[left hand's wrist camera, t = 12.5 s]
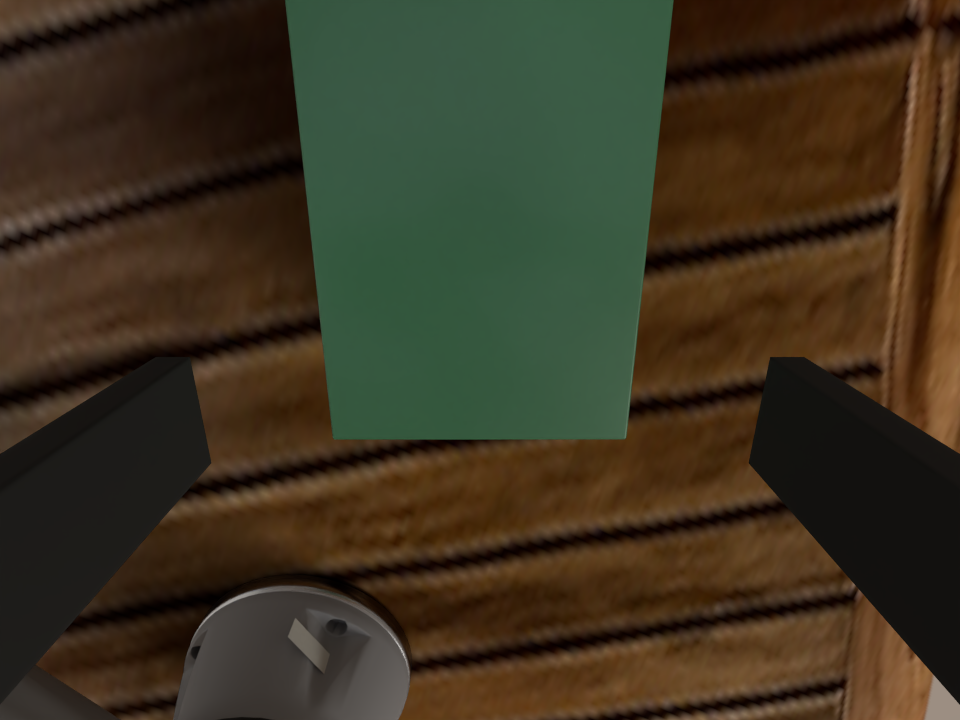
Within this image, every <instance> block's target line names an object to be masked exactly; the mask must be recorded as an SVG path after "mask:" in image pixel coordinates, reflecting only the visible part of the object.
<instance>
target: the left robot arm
mask: <svg viewBox="0 0 960 720" xmlns="http://www.w3.org/2000/svg"><path fill="white" fill-rule="evenodd" d="M210 464H211V459H210V454H209V449H208V444H207V440H206V435H205V430H204V425H203V420H202V415H201V410H200V405H199V400H198V395H197V390H196V386H195V381H194V376H193V371H192V366H191V361H190V357H155V358H154V359H152V360H151V361H149V362H147V363H146V364H144V365H143V366H141V367H139V368H138V369H136V370H134V371H133V372H131V373H130V374H128V375H126V376H125V377H123V378H122V379H120V380H118V381H117V382H115V383H114V384H112V385H110V386H109V387H107V388H106V389H104V390H102V391H101V392H99V393H98V394H96V395H94V396H93V397H91V398H90V399H88V400H86V401H85V402H83V403H82V404H80V405H78V406H77V407H75V408H73V409H72V410H70V411H69V412H67V413H65V414H64V415H62V416H61V417H59V418H57V419H56V420H54V421H53V422H51V423H49V424H48V425H46V426H45V427H43V428H41V429H40V430H38V431H37V432H35V433H33V434H32V435H30V436H29V437H27V438H25V439H24V440H22V441H21V442H19V443H17V444H16V445H14V446H12V447H11V448H9V449H8V450H6V451H4V452H3V453H1V454H0V720H120V719H119V718H117V717H115V716H114V715H112V714H111V713H109V712H108V711H106V710H105V709H103V708H101V707H100V706H98V705H97V704H95V703H94V702H92V701H91V700H89V699H88V698H86V697H84V696H83V695H81V694H80V693H78V692H77V691H75V690H74V689H72V688H70V687H69V686H67V685H66V684H64V683H63V682H61V681H60V680H58V679H57V678H55V677H53V676H52V675H50V674H49V673H47V672H46V671H44V670H43V669H41V668H39V667H38V666H36V665H35V664H36V663H37V662H38V661H39V660H40V658H41V657H42V656H43V655H44V654H45V653H46V652H47V650H48V649H49V648H50V647H51V646H52V645H53V644H54V642H55V641H56V640H57V639H58V638H59V637H60V636H61V634H62V633H63V632H64V631H65V630H66V629H67V628H68V626H69V625H70V624H71V623H72V622H73V621H74V620H75V618H76V617H77V616H78V615H79V614H80V613H81V612H82V610H83V609H84V608H85V607H86V606H87V605H88V604H89V602H90V601H91V600H92V599H93V598H94V597H95V595H96V594H97V593H98V592H99V591H100V590H101V589H102V587H103V586H104V585H105V584H106V583H107V582H108V581H109V579H110V578H111V577H112V576H113V575H114V574H115V573H116V571H117V570H118V569H119V568H120V567H121V566H122V565H123V563H124V562H125V561H126V560H127V559H128V558H129V557H130V555H131V554H132V553H133V552H134V551H135V550H136V549H137V547H138V546H139V545H140V544H141V543H142V542H143V541H144V539H145V538H146V537H147V536H148V535H149V534H150V533H151V531H152V530H153V529H154V528H155V527H156V526H157V525H158V523H159V522H160V521H161V520H162V519H163V518H164V516H165V515H166V514H167V513H168V512H169V511H170V510H171V508H172V507H173V506H174V505H175V504H176V503H177V502H178V500H179V499H180V498H181V497H182V496H183V495H184V494H185V492H186V491H187V490H188V489H189V488H190V487H191V486H192V484H193V483H194V482H195V481H196V480H197V479H198V478H199V476H200V475H201V474H202V473H203V472H204V471H205V470H206V468H207V467H208V466H209V465H210ZM749 464H750V465H751V466H752V467H753V468H754V470H755V471H756V472H757V473H758V474H759V475H760V476H761V478H762V479H763V480H764V481H765V482H766V483H767V484H768V486H769V487H770V488H771V489H772V490H773V491H774V492H775V494H776V495H777V496H778V497H779V498H780V499H781V500H782V502H783V503H784V504H785V505H786V506H787V507H788V508H789V510H790V511H791V512H792V513H793V514H794V515H795V516H796V518H797V519H798V520H799V521H800V522H801V523H802V525H803V526H804V527H805V528H806V529H807V530H808V531H809V533H810V534H811V535H812V536H813V537H814V538H815V539H816V541H817V542H818V543H819V544H820V545H821V546H822V547H823V549H824V550H825V551H826V552H827V553H828V554H829V555H830V557H831V558H832V559H833V560H834V561H835V562H836V563H837V565H838V566H839V567H840V568H841V569H842V570H843V571H844V573H845V574H846V575H847V576H848V577H849V578H850V579H851V581H852V582H853V583H854V584H855V585H856V586H857V587H858V589H859V590H860V591H861V592H862V593H863V594H864V596H865V597H866V598H867V599H868V600H869V601H870V602H871V604H872V605H873V606H874V607H875V608H876V609H877V610H878V612H879V613H880V614H881V615H882V616H883V617H884V618H885V620H886V621H887V622H888V623H889V624H890V625H891V626H892V628H893V629H894V630H895V631H896V632H897V633H898V634H899V636H900V637H901V638H902V639H903V640H904V641H905V642H906V644H907V645H908V646H909V647H910V648H911V649H912V650H913V652H914V653H915V654H916V655H917V656H918V657H919V658H920V660H921V661H922V662H923V663H924V664H925V665H926V666H927V668H928V669H929V670H930V671H931V672H932V673H933V675H934V676H935V677H936V678H937V679H938V680H939V681H940V682H941V684H942V685H943V686H944V687H945V688H946V689H947V691H948V692H949V693H950V694H951V695H952V696H953V697H954V698H955V700H956V701H957V702H958V703H959V704H960V454H959V453H957V452H956V451H954V450H952V449H951V448H949V447H948V446H946V445H944V444H943V443H941V442H939V441H938V440H936V439H935V438H933V437H931V436H930V435H928V434H927V433H925V432H923V431H922V430H920V429H919V428H917V427H915V426H914V425H912V424H911V423H909V422H907V421H906V420H904V419H903V418H901V417H899V416H898V415H896V414H895V413H893V412H891V411H890V410H888V409H887V408H885V407H883V406H882V405H880V404H878V403H877V402H875V401H874V400H872V399H870V398H869V397H867V396H866V395H864V394H862V393H861V392H859V391H858V390H856V389H854V388H853V387H851V386H850V385H848V384H846V383H845V382H843V381H842V380H840V379H838V378H837V377H835V376H834V375H832V374H830V373H829V372H827V371H826V370H824V369H822V368H821V367H819V366H817V365H816V364H814V363H813V362H811V361H809V360H808V359H806V358H805V357H770V361H769V366H768V371H767V376H766V381H765V386H764V390H763V395H762V400H761V405H760V410H759V415H758V420H757V425H756V430H755V435H754V440H753V444H752V449H751V454H750V459H749ZM411 670H412V655H411V650H410V646H409V643H408V640H407V638H406V635H405V633H404V631H403V630H402V628H401V626H400V625H399V623H398V622H397V621H396V620H395V618H394V617H393V616H392V615H391V614H390V613H389V612H388V611H387V610H386V609H385V608H384V607H383V606H382V605H380V604H379V603H378V602H377V601H375V600H374V599H372V598H371V597H369V596H368V595H366V594H364V593H363V592H361V591H359V590H357V589H355V588H353V587H350V586H348V585H345V584H343V583H340V582H336V581H333V580H330V579H325V578H321V577H315V576H307V575H279V576H271V577H265V578H261V579H257V580H254V581H251V582H248V583H245V584H243V585H241V586H239V587H237V588H235V589H233V590H231V591H230V592H228V593H227V594H225V595H224V596H223V597H221V598H220V599H219V600H218V601H217V602H216V603H215V604H214V605H213V606H212V607H211V609H210V610H209V611H208V613H207V614H206V616H205V618H204V619H203V621H202V623H201V624H200V626H199V628H198V629H197V631H196V633H195V634H194V637H193V639H192V641H191V644H190V647H189V650H188V652H187V656H186V659H185V664H184V671H183V677H182V680H181V684H180V689H179V694H178V699H177V704H176V709H175V714H174V719H173V720H398V719H399V717H400V715H401V713H402V710H403V708H404V705H405V701H406V698H407V696H408V691H409V685H410V678H411Z"/></svg>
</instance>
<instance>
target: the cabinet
mask: <svg viewBox="0 0 960 720" xmlns="http://www.w3.org/2000/svg"><path fill="white" fill-rule="evenodd" d="M285 4H286V13H287V22H288V31H289V40H290V50H291V59H292V68H293V77H294V86H295V95H296V105H297V114H298V123H299V132H300V141H301V150H302V160H303V169H304V178H305V187H306V196H307V205H308V214H309V224H310V233H311V242H312V251H313V260H314V269H315V279H316V288H317V297H318V306H319V315H320V324H321V334H322V343H323V352H324V361H325V370H326V379H327V388H328V398H329V407H330V416H331V425H332V434H333V439H626V435H627V426H628V416H629V407H630V398H631V389H632V379H633V370H634V361H635V352H636V342H637V333H638V324H639V315H640V305H641V296H642V287H643V277H644V268H645V259H646V250H647V240H648V231H649V222H650V213H651V203H652V194H653V185H654V176H655V166H656V157H657V148H658V139H659V129H660V120H661V111H662V102H663V92H664V83H665V74H666V64H667V55H668V46H669V37H670V27H671V18H672V9H673V0H285Z"/></svg>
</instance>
